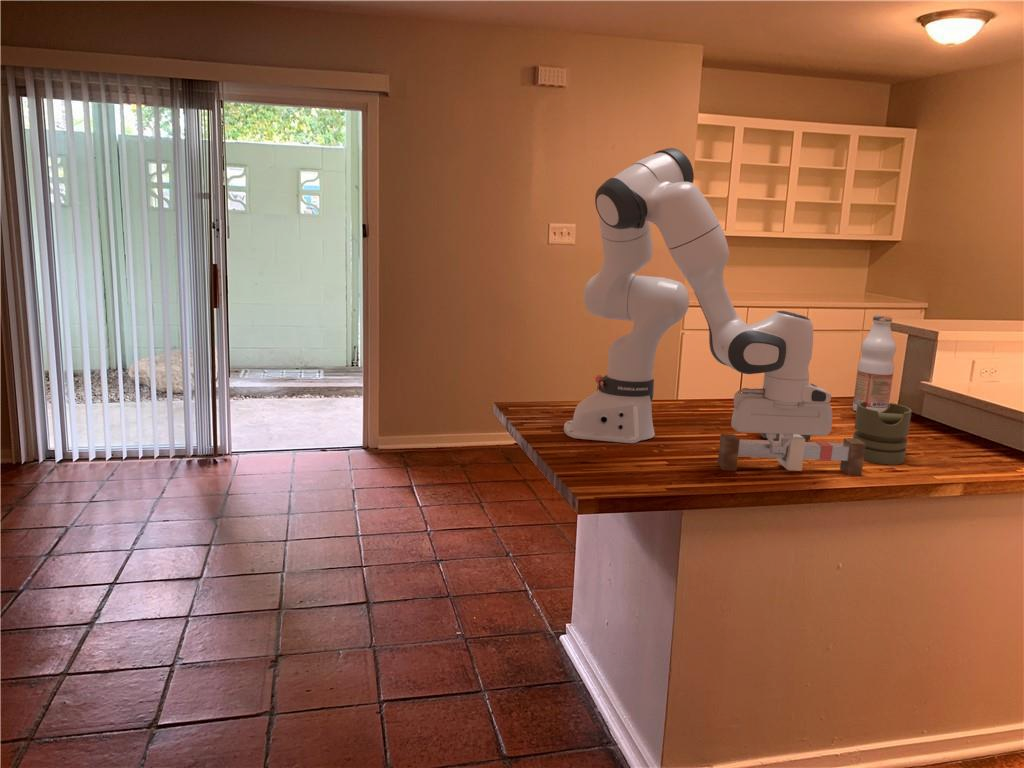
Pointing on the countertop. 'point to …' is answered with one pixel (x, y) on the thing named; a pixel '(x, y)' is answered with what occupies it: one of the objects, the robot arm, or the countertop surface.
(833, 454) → the steel rail
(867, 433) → the piston
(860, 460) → the posts
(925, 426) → the countertop surface
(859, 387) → the fruit juice
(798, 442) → the collar
